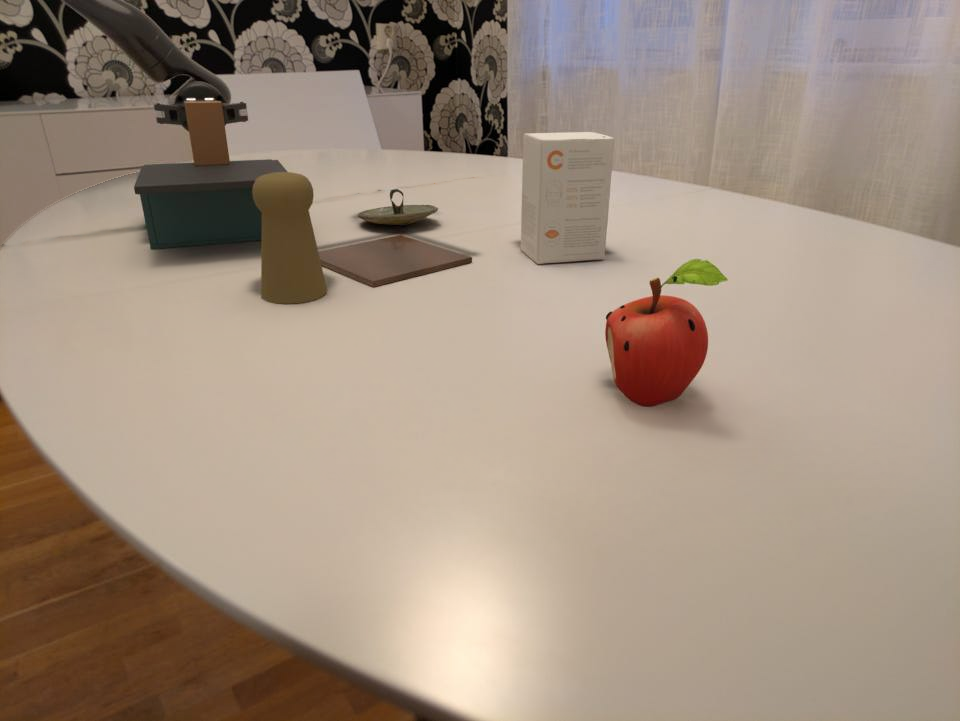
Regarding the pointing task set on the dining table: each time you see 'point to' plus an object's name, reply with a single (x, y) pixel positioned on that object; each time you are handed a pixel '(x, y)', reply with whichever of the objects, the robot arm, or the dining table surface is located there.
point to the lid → (397, 213)
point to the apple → (660, 339)
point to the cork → (288, 239)
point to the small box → (565, 196)
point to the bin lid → (204, 159)
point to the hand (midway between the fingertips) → (203, 118)
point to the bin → (201, 217)
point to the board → (389, 259)
